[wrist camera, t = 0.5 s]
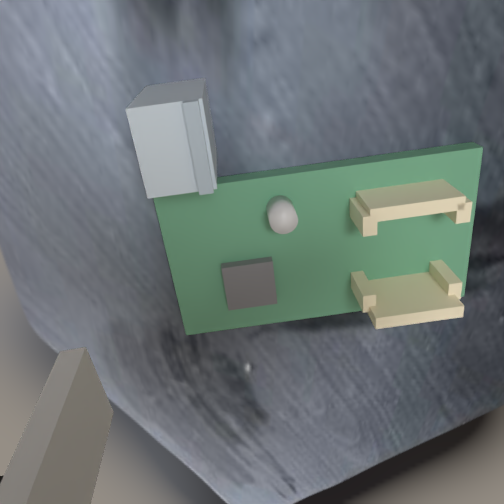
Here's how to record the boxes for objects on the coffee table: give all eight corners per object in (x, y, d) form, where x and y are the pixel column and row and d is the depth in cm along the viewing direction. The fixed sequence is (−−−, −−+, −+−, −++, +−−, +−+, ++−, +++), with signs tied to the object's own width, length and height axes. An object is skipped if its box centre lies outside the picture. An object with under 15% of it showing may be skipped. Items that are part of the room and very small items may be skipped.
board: (154, 185, 34) (142, 222, 28) (472, 141, 34) (524, 168, 28) (187, 324, 40) (182, 377, 34) (455, 286, 40) (495, 333, 34)
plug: (146, 85, 30) (123, 111, 23) (205, 77, 30) (201, 100, 23) (162, 157, 33) (146, 202, 25) (216, 150, 33) (217, 192, 25)
